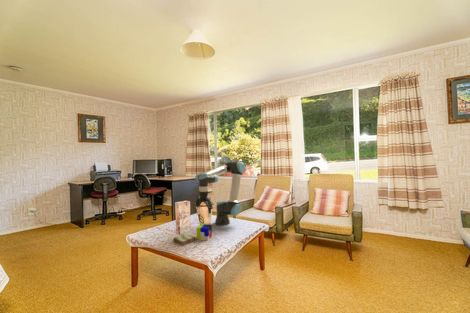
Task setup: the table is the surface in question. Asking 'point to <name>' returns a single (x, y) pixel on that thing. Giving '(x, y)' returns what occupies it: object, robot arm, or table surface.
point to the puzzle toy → (204, 232)
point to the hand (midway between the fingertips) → (203, 215)
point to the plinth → (184, 239)
